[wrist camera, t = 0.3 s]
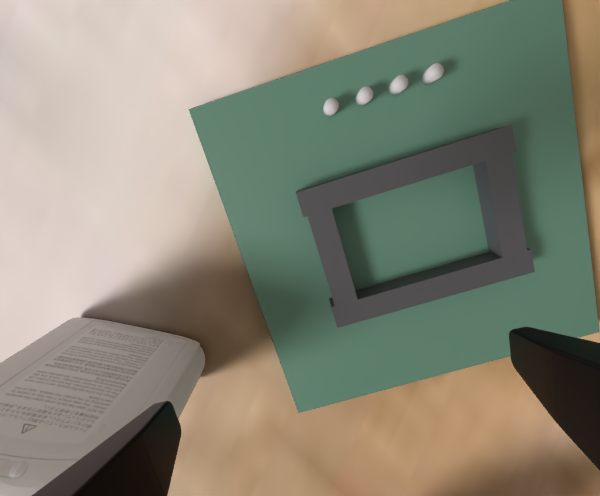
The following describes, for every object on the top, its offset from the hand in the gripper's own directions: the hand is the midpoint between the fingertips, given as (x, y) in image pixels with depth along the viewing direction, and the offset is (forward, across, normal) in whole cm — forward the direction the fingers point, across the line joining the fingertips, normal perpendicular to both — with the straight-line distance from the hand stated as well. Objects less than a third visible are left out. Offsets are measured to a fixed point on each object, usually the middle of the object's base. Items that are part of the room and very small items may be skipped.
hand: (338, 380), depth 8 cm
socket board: (+14, -6, 0) cm, 16 cm away
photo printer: (+15, +14, +4) cm, 21 cm away
